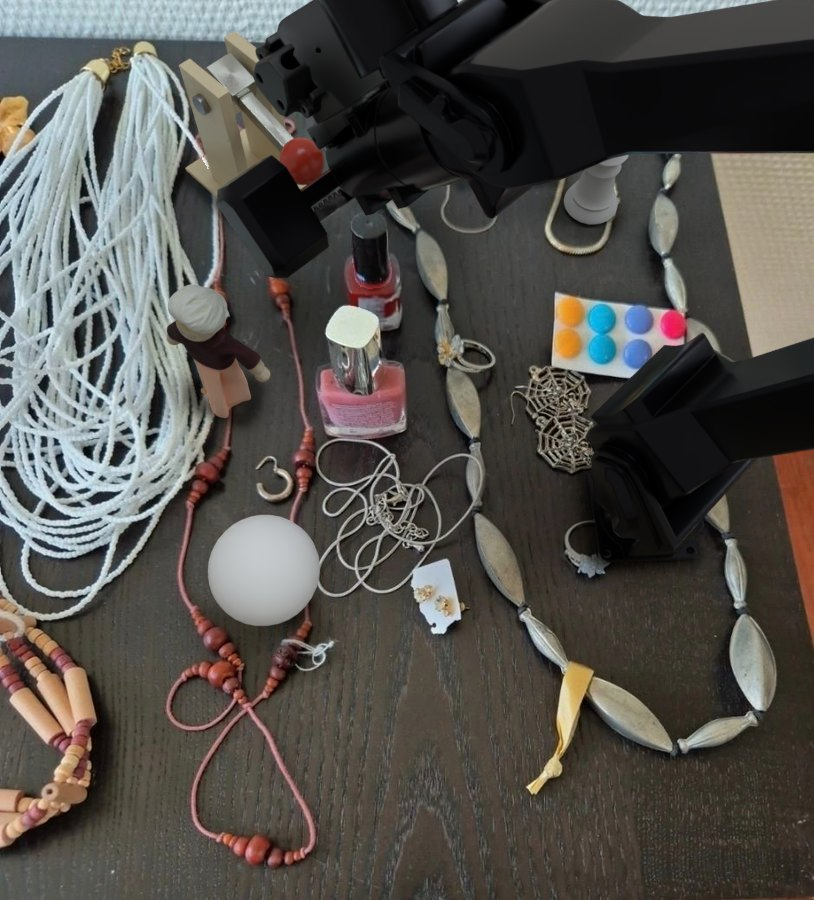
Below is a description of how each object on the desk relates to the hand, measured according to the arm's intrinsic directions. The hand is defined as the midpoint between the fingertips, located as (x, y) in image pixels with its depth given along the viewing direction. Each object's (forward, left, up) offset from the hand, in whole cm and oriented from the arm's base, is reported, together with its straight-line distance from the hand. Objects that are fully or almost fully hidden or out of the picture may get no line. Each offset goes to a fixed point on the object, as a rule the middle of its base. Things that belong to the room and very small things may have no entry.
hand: (309, 174), depth 56 cm
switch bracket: (+6, +5, -7) cm, 11 cm away
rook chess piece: (+2, -22, -7) cm, 23 cm away
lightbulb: (-29, +2, -7) cm, 30 cm away
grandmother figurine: (-14, +6, -7) cm, 17 cm away
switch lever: (+4, +3, 0) cm, 5 cm away
